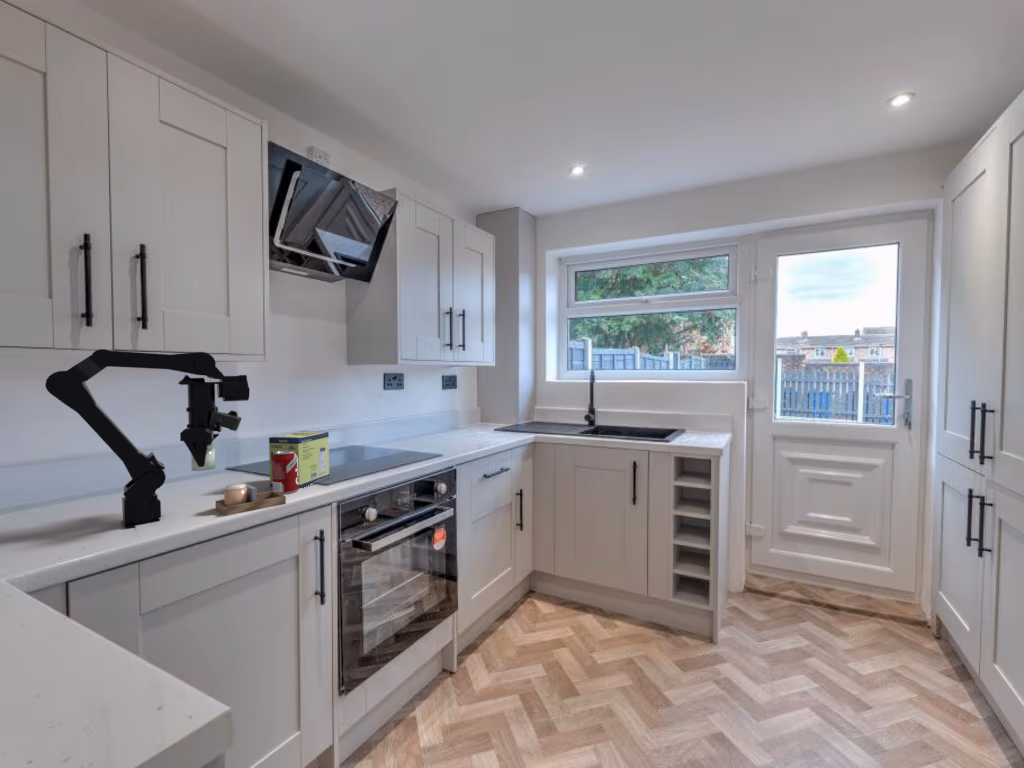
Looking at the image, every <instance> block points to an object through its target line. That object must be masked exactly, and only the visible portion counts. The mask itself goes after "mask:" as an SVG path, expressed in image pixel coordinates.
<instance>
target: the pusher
mask: <svg viewBox="0 0 1024 768" xmlns="http://www.w3.org/2000/svg"><path fill="white" fill-rule="evenodd" d="M245 484H246V487H247V503H249V502H254V501H257V492H258V491H257V487H255V486H252V485H250V484H248V483H245Z"/></svg>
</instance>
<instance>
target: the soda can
mask: <svg viewBox="0 0 1024 768" xmlns="http://www.w3.org/2000/svg"><path fill="white" fill-rule="evenodd" d="M274 454H275V455H274V457H273V458H272V480H273V487H272V491H275V492H277V493H280V494H282V495H288V494H294V493H296V492H297V491H299V486H298V456H297V455H296V454H295V451H294V450H283V451H277V452H274Z"/></svg>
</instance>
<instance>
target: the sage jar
mask: <svg viewBox="0 0 1024 768" xmlns="http://www.w3.org/2000/svg"><path fill="white" fill-rule="evenodd" d="M215 449H216V448H215V447H214V443H212V444H209V445H208V448H207V454H206V459H205V465H204V467H199V466H198V464H197V463H196V461H195V459H194V457H193V456H192V454H191V453H190V460H191V463H190V464H191V471H192V472H205V471H210V470H211V471H212V470H214V469H216V450H215Z"/></svg>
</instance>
